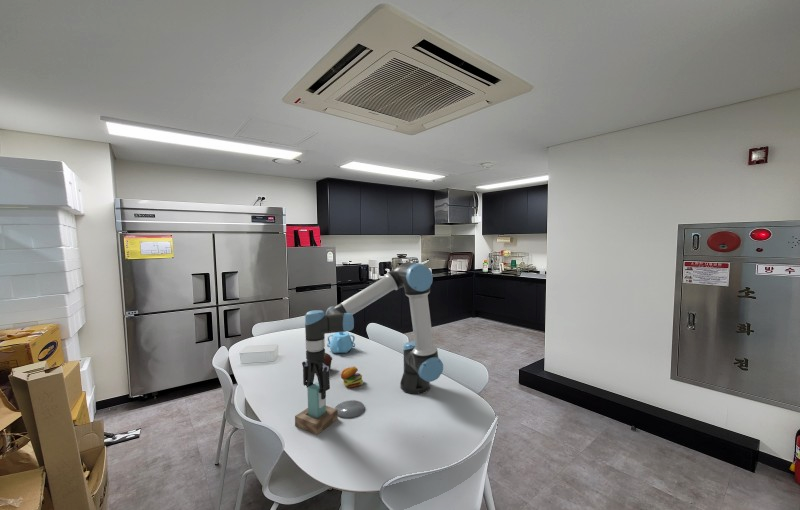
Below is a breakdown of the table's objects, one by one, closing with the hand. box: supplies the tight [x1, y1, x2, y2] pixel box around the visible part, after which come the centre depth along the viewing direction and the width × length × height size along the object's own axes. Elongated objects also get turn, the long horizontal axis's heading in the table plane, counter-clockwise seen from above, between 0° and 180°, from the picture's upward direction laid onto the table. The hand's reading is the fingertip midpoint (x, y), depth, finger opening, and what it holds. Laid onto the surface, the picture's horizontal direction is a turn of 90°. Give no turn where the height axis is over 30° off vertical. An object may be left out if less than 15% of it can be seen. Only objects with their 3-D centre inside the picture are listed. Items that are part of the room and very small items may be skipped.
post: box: [306, 381, 327, 419], centre depth 126 cm, size 5×5×14 cm
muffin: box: [324, 352, 333, 369], centre depth 176 cm, size 12×11×10 cm
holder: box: [294, 405, 339, 435], centre depth 126 cm, size 12×12×4 cm
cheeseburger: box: [340, 366, 364, 388], centre depth 160 cm, size 10×11×10 cm
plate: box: [334, 399, 365, 419], centre depth 135 cm, size 13×13×1 cm
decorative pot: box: [326, 331, 356, 354], centre depth 209 cm, size 16×16×14 cm
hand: (316, 404), depth 126 cm, fingers closed on post, 5 cm apart
